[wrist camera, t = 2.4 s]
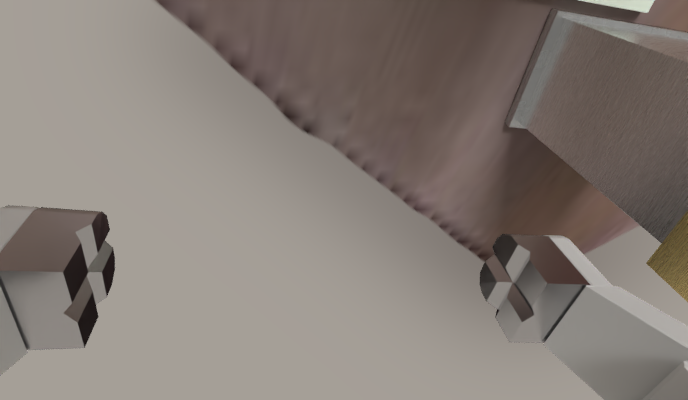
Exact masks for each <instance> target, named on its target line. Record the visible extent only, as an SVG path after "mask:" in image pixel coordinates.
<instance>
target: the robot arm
mask: <svg viewBox="0 0 688 400" xmlns="http://www.w3.org/2000/svg"><path fill="white" fill-rule="evenodd" d="M109 230H110V228H109V224H108V219H107V215H105V214H104V213H103V212H98V211H85V210H70V209H58V208H43V207H41V208H38V207H26V206H9V205H8V206H5V207H2V208H0V375H1V374H3V373H4V372H5V371H6V370H8V369H9V368H10V367H11V366H12V365H14V364H15V363H16V362H17V361H18V360H20V359H21V358H22V357H23V356H24V355H26V354H27V353H28V352H27V350H41V349H42V350H43V349H66V348H67V349H68V348H85V345H86V343H87V341H88V339H89V336H90V334H91V332H92V330H93V327H94V325H95V323H96V321H97V318H98V313H97V309H96V304H97V303H99V302H100V301H102V300H103V299H105V298H106V297H107V295H108V293H109V290H110V288H111V285H112V281H113V276H114V271H115V257H114V251H113V248H112V247H111V246H110V245H109V244H108V243H107V242H106V241H105V238H106V236H107V234H108V232H109ZM493 251H494V254H495V255H493V256H492V257H491V258H489V259H488V260H487V261H485V263H484V265H483V267H482V270H481V272H480V287H481V291H482V294H483V296H484V298H485V299H486V301H487V302H488V303H489V304H491V305H492V306H493V307H495V308H496V309H497V312H496V319H497V321H498V323H499V325H500V326H501V328H502V330H503V332H504V334H505V335H506V337H507V339H508V341H509V342H526V343H530V342H531V343H544V344H543V345H544V346H545V347H547V348H548V349H549V350H550V351H551V352H552V353H553V354H554V355H555V356H556V357H557V358H559V359H560V360H561V361H562V362H563V363H564V364H565V365H566V366H567V367H568V368H570V369H571V370H572V371H573V372H574V373H575V374H576V375H577V376H578V377H580V378H581V379H582V380H583V381H584V382H585V383H586V384H587V385H588V386H590V387H591V388H592V389H593V390H594V391H595V392H596V393H597V394H598V395H600V396H601V397H602V398H603V399H604V400H688V326H687V325H685V324H683V323H682V322H680V321H678V320H676V319H675V318H673V317H671V316H669V315H668V314H666V313H664V312H662V311H661V310H659V309H657V308H655V307H654V306H652V305H650V304H648V303H647V302H645V301H643V300H642V299H640V298H638V297H636V296H634V295H633V294H631V293H629V292H628V291H626V290H624V289H622V288H620V287H619V286H612V285H611V284H610V283H609V282H608V280H606V278H605V277H604V276H603V275H602V274H601V273H600V272H599V271H598V270H597V269H596V268H595V266H594V265H593V264H592V263H591V262H590V261H589V260H588V259H587V258H586V257H585V256H584V255H583V253H582V252H581V251H580V250H579V249H578V248H577V247H576V246H575V245H574V244H573V243H572V242H571V240H570V239H568V238H566V237H564V236H559V235H541V236H537V235H517V234H502V235H501V236H500V237H498V238H497V239H496V241H495V243H494V245H493Z"/></svg>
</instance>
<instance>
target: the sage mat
mask: <svg viewBox="0 0 688 400" xmlns="http://www.w3.org/2000/svg"><path fill="white" fill-rule="evenodd" d="M579 1H584V2H590V3H595V4H601V5H606V6H612V7H617V8H623V9H629V10H634V11H640V12H645V13H648V11H649V9H650V8H651V6H652V4H653V2H654V0H579Z"/></svg>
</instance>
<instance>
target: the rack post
mask: <svg viewBox="0 0 688 400" xmlns="http://www.w3.org/2000/svg"><path fill="white" fill-rule="evenodd" d="M505 124H506V125H508V126H509V127H515V128H525V129H527V130H528V131H529V132H531V133H532V134H533V135H534V136H535V137H537V138H538V139H539V140H540V141H541V142H542V143H544V144H545V145H546V146H547V147H548V148H550V149H551V150H552V151H553V152H554V153H555V154H557V155H558V156H559V157H560V158H561V159H563V160H564V161H565V162H566V163H567V164H568V165H570V166H571V167H572V168H573V169H574V170H575V171H577V172H578V173H579V174H580V175H581V176H583V177H584V178H585V179H586V180H587V181H588V182H590V183H591V184H592V185H593V186H594V187H596V188H597V189H598V190H599V191H600V192H601V193H603V194H604V195H605V196H606V197H607V198H609V199H610V200H611V201H612V202H613V203H614V204H616V205H617V206H618V207H619V208H620V209H622V210H623V211H624V212H625V213H626V214H627V215H629V216H630V217H631V218H632V219H633V220H635V221H636V222H637V223H638V224H639V225H640V226H642V227H643V228H644V229H645V230H646V231H648V232H649V233H650V234H651V235H652V236H653V237H655V238H656V239H657V240H658V241H659V242H661V243H663V241H664V240H665V239H666V237H667V236H668V235H669V234H670V232H671V231H672V230H673V229H674V227H675V226H676V225H677V223H678V222H679V221H680V220H681V218H682V217H683V216H684V215H685V213H686V212H687V211H688V32H684V31H678V30H672V29H666V28H661V27H655V26H649V25H643V24H637V23H632V22H626V21H620V20H614V19H608V18H603V17H597V16H591V15H585V14H579V13H574V12H568V11H562V10H556V9H551V12H550V14H549V17H548V19H547V21H546V24H545V26H544V29H543V31H542V34H541V36H540V38H539V41H538V43H537V46H536V48H535V51H534V53H533V55H532V58H531V60H530V63H529V65H528V67H527V70H526V72H525V75H524V77H523V80H522V82H521V84H520V87H519V89H518V92H517V94H516V96H515V99H514V101H513V104H512V106H511V109H510V111H509V113H508V116H507V118H506V121H505Z"/></svg>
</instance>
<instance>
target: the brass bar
mask: <svg viewBox="0 0 688 400" xmlns="http://www.w3.org/2000/svg"><path fill="white" fill-rule="evenodd" d="M647 265H648V266H650V267H651V268H652V269H653V270H654V271H655V272H656V273H657V274H658V275H659V276H660V277H661V278H662V279H663V280H665V281H666V282H667V283H668V284H669V285H670V286H671V287H672V288H673V289H674V290H675V291H676V292H677V293H679V294H680V295H681V296H682V297H683V298H684V299H685V300H686V301H687V302H688V211H687V212H686V213H685V215H684V216H683V217H682V218H681V220H680V221H679V222H678V223H677V225H676V226H675V227H674V229H673V230H672V231H671V232H670V234H669V235H668V236H667V237H666V239H665V240H664V241H663V243H662V244H661V245H660V246H659V248H658V249H657V250H656V251H655V253H654V254H653V255H652V257H651V258H650V259H649V260H648V262H647Z"/></svg>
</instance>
